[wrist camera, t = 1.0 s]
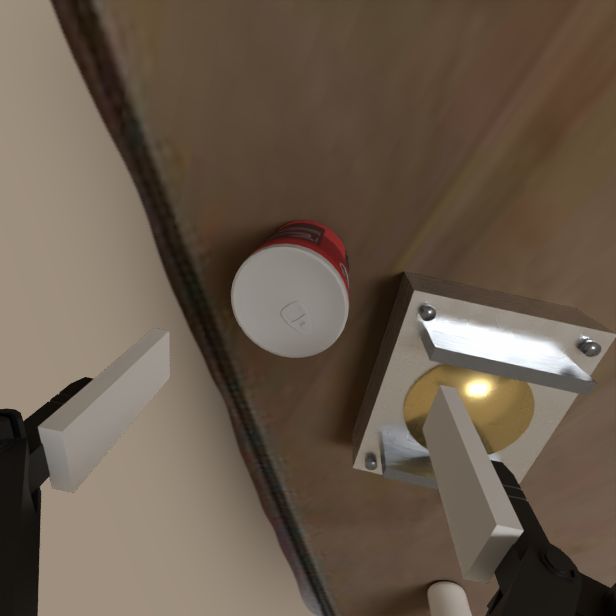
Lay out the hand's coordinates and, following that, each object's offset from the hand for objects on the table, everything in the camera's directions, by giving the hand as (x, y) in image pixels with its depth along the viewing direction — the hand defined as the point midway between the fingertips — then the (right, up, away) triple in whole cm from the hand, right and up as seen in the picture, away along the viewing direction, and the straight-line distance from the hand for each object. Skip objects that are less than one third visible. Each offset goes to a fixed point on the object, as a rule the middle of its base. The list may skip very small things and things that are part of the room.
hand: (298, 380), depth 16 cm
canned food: (0, +8, +15) cm, 18 cm away
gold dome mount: (+15, -4, +19) cm, 24 cm away
